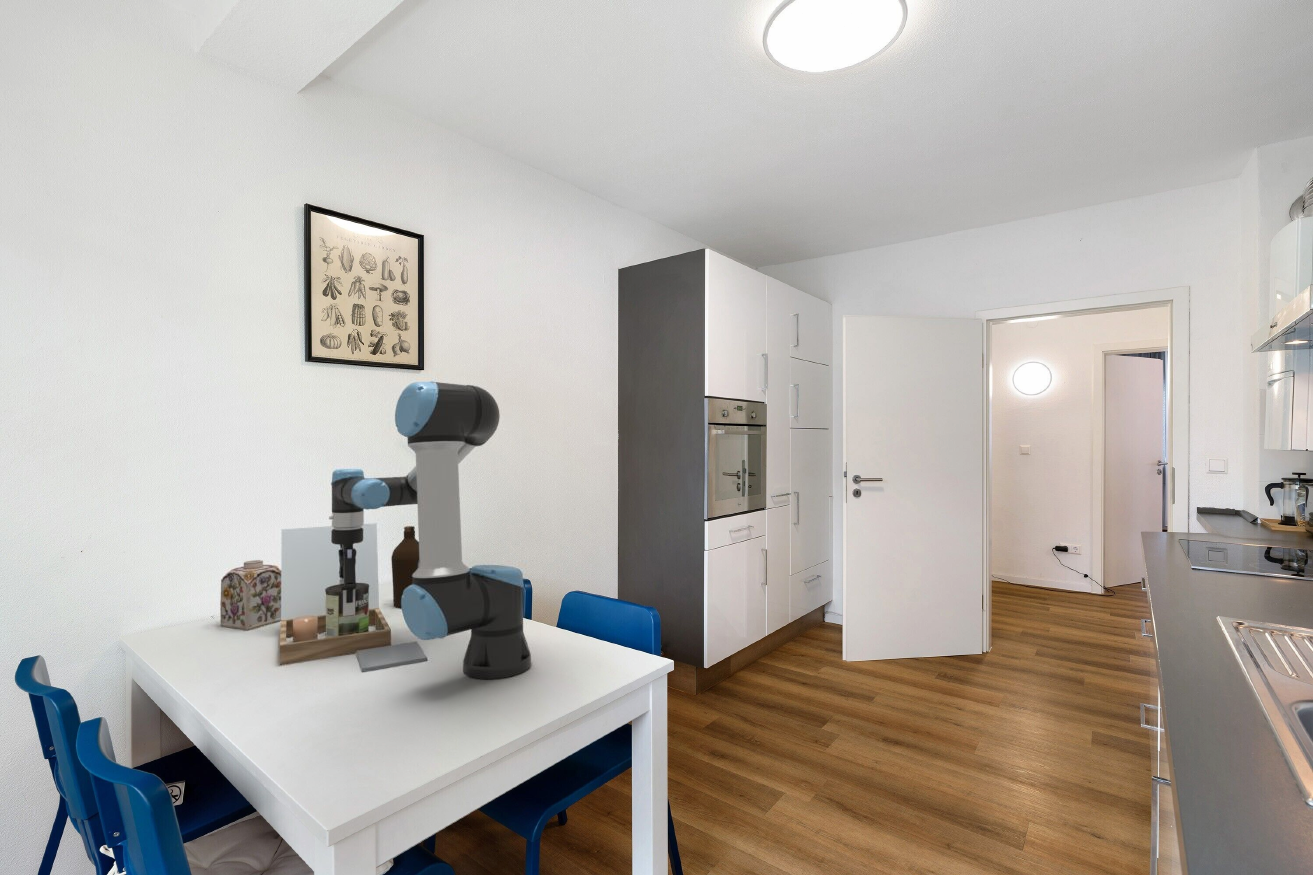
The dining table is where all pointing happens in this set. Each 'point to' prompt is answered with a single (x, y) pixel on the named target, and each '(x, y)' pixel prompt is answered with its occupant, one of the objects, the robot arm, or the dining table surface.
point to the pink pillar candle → (305, 628)
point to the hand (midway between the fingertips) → (346, 608)
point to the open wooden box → (333, 641)
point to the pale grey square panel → (321, 569)
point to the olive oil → (404, 564)
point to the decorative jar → (251, 596)
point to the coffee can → (350, 623)
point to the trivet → (390, 656)
